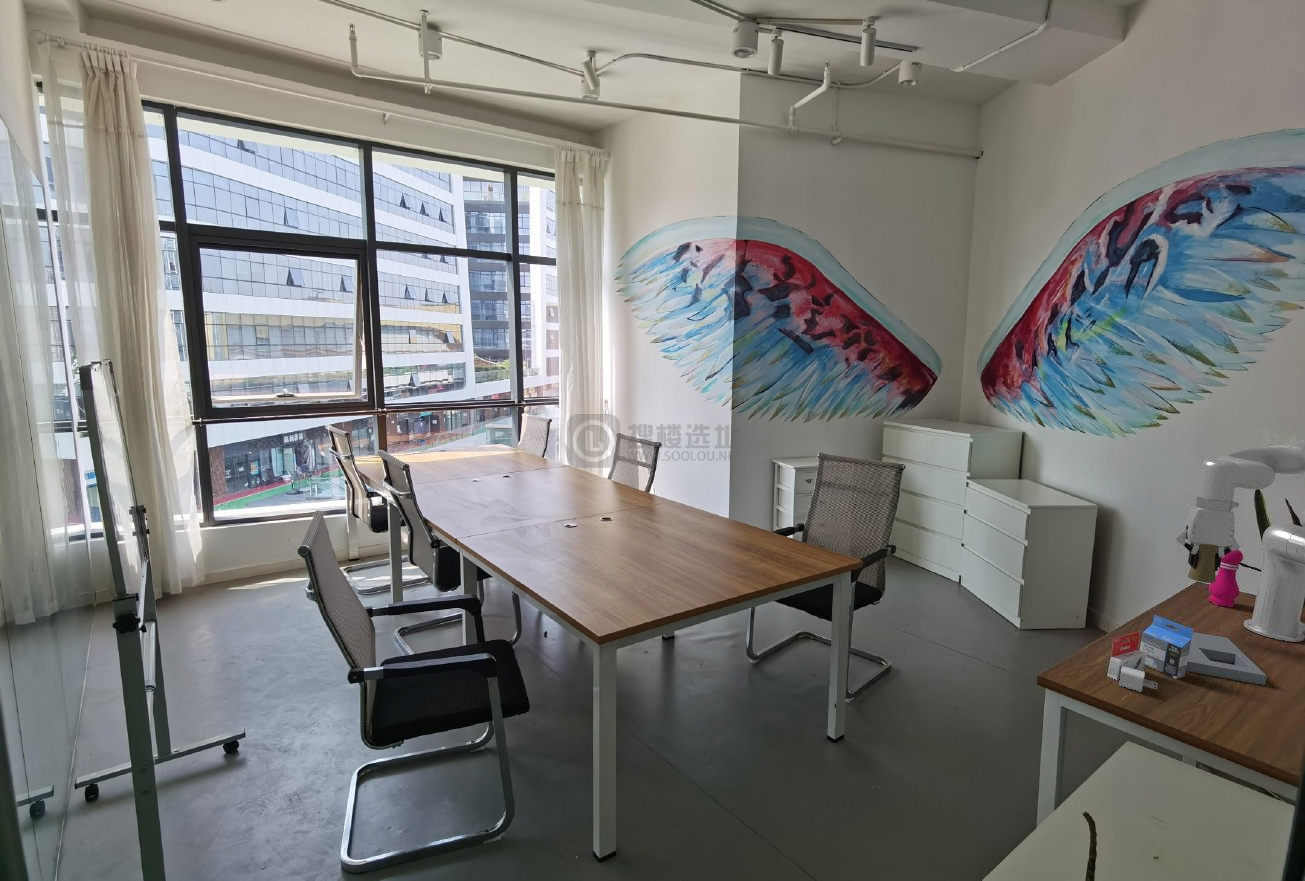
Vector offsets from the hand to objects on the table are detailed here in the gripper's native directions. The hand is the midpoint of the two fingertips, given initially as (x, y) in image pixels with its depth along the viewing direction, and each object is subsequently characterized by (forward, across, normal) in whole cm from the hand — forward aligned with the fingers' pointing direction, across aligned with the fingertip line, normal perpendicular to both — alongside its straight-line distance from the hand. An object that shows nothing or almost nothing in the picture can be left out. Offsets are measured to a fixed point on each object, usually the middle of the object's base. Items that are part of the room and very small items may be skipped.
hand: (1203, 567), depth 181 cm
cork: (+4, 0, 0) cm, 4 cm away
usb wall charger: (+19, +25, +46) cm, 56 cm away
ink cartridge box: (+19, +26, +39) cm, 50 cm away
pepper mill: (+19, -16, -30) cm, 39 cm away
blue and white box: (+19, +16, +32) cm, 41 cm away
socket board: (+19, +3, +19) cm, 27 cm away
